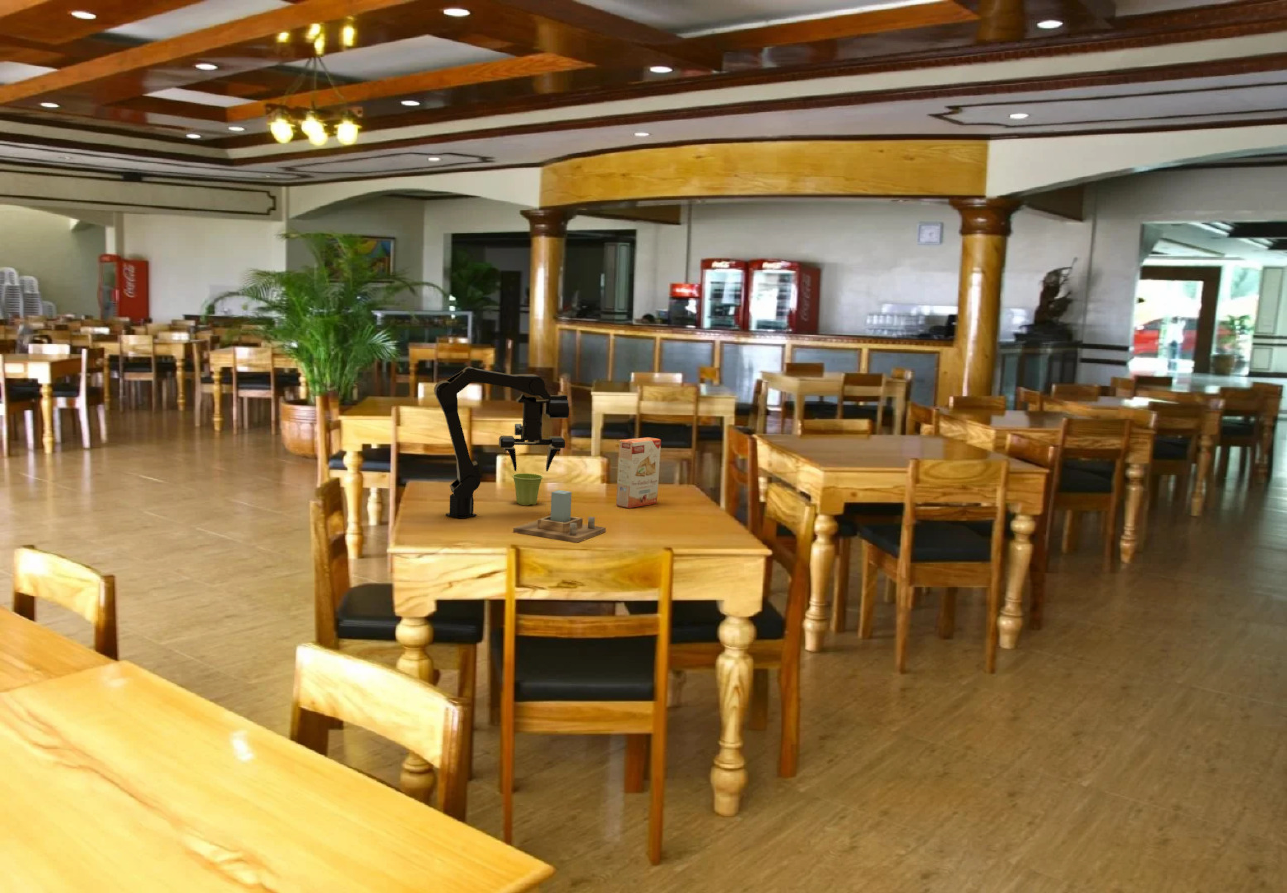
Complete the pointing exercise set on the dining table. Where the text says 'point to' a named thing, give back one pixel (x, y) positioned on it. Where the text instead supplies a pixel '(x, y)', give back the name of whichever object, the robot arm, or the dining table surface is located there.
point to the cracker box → (638, 472)
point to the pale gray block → (561, 506)
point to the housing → (561, 529)
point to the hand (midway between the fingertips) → (531, 471)
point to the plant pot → (527, 487)
